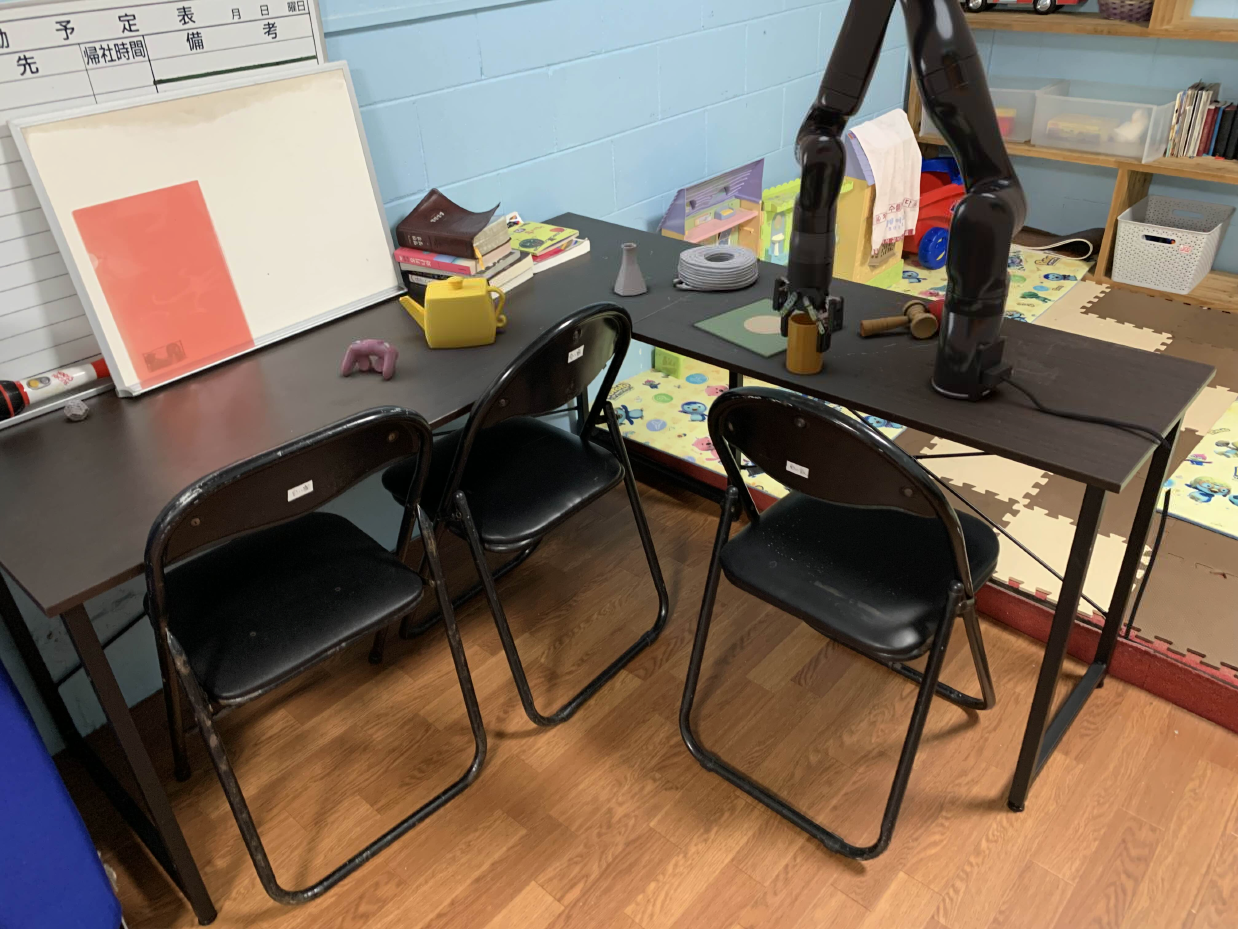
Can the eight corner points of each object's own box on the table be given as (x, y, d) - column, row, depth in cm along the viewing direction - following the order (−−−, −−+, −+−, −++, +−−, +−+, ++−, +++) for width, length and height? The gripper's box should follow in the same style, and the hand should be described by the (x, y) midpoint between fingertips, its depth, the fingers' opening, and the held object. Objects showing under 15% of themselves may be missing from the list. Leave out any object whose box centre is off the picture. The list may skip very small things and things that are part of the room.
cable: (669, 290, 198) (668, 263, 195) (687, 263, 212) (687, 238, 209) (750, 296, 193) (751, 268, 190) (763, 268, 207) (764, 242, 204)
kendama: (870, 352, 170) (966, 332, 170) (867, 318, 168) (964, 298, 168) (857, 342, 177) (950, 323, 177) (854, 310, 175) (948, 290, 175)
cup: (829, 367, 163) (833, 319, 158) (804, 377, 160) (808, 329, 155) (802, 356, 167) (806, 309, 162) (778, 366, 164) (781, 318, 159)
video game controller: (400, 380, 169) (402, 341, 168) (387, 379, 165) (390, 340, 164) (352, 376, 172) (354, 338, 171) (338, 375, 167) (340, 336, 167)
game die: (85, 410, 161) (79, 395, 159) (94, 416, 158) (88, 401, 157) (64, 418, 158) (57, 403, 157) (73, 424, 156) (67, 409, 155)
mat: (841, 327, 177) (841, 325, 177) (767, 357, 167) (767, 355, 167) (766, 300, 191) (766, 297, 191) (694, 326, 181) (694, 323, 181)
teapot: (404, 353, 176) (393, 294, 170) (409, 327, 186) (399, 271, 180) (509, 344, 177) (502, 285, 171) (508, 319, 188) (502, 263, 182)
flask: (609, 287, 201) (607, 242, 196) (641, 282, 203) (639, 238, 198) (619, 298, 195) (617, 252, 190) (651, 293, 197) (650, 247, 192)
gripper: (765, 248, 156) (760, 336, 165) (827, 270, 147) (819, 363, 155) (796, 238, 160) (790, 325, 169) (859, 259, 150) (849, 351, 159)
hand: (804, 343), depth 162 cm, fingers open, 8 cm apart
